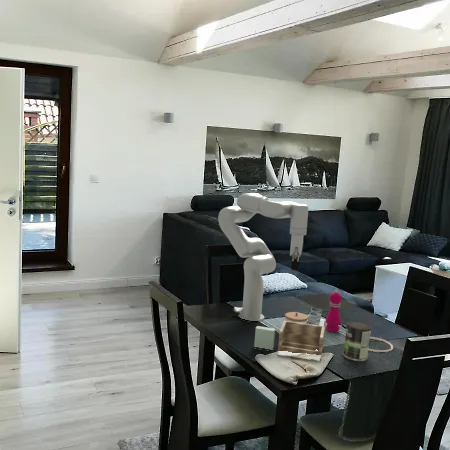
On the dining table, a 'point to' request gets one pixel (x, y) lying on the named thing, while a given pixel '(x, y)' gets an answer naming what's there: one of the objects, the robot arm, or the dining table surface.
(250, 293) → the robot arm
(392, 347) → the hand towel holder
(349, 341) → the coffee can
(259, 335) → the rectangular block
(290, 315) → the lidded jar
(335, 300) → the pepper mill
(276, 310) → the dining table surface
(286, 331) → the cabinet frame
